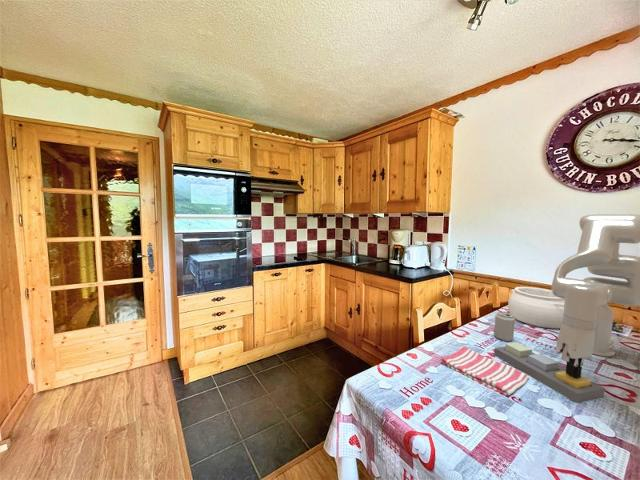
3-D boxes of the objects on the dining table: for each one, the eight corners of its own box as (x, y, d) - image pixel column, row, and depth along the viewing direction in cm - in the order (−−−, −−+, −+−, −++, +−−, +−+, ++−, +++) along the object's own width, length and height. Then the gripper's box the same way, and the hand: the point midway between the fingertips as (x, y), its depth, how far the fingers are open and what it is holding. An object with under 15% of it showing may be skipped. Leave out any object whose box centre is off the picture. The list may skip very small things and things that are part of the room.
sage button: (516, 349, 105) (516, 342, 105) (531, 356, 99) (532, 349, 99) (504, 350, 104) (505, 343, 103) (519, 358, 98) (520, 351, 98)
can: (516, 342, 116) (518, 317, 115) (498, 341, 117) (500, 315, 116) (508, 335, 123) (510, 311, 122) (490, 333, 125) (492, 310, 124)
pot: (494, 313, 153) (496, 286, 151) (528, 309, 159) (530, 284, 158) (546, 334, 125) (549, 301, 124) (585, 329, 132) (588, 298, 130)
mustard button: (567, 378, 88) (568, 370, 88) (589, 389, 82) (590, 380, 82) (554, 380, 86) (555, 372, 86) (576, 392, 81) (577, 383, 80)
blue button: (539, 361, 96) (540, 353, 96) (558, 370, 91) (558, 362, 90) (527, 363, 95) (528, 355, 95) (545, 372, 89) (546, 364, 89)
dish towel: (461, 351, 108) (462, 343, 108) (529, 381, 89) (530, 371, 89) (439, 364, 99) (440, 355, 98) (510, 400, 80) (511, 389, 79)
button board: (516, 351, 108) (517, 344, 108) (603, 396, 81) (604, 387, 81) (494, 354, 105) (494, 348, 105) (576, 402, 78) (577, 393, 78)
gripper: (580, 315, 88) (575, 366, 90) (548, 319, 84) (543, 372, 86) (610, 324, 81) (603, 379, 82) (576, 329, 77) (570, 386, 79)
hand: (572, 375), depth 84 cm, fingers closed
